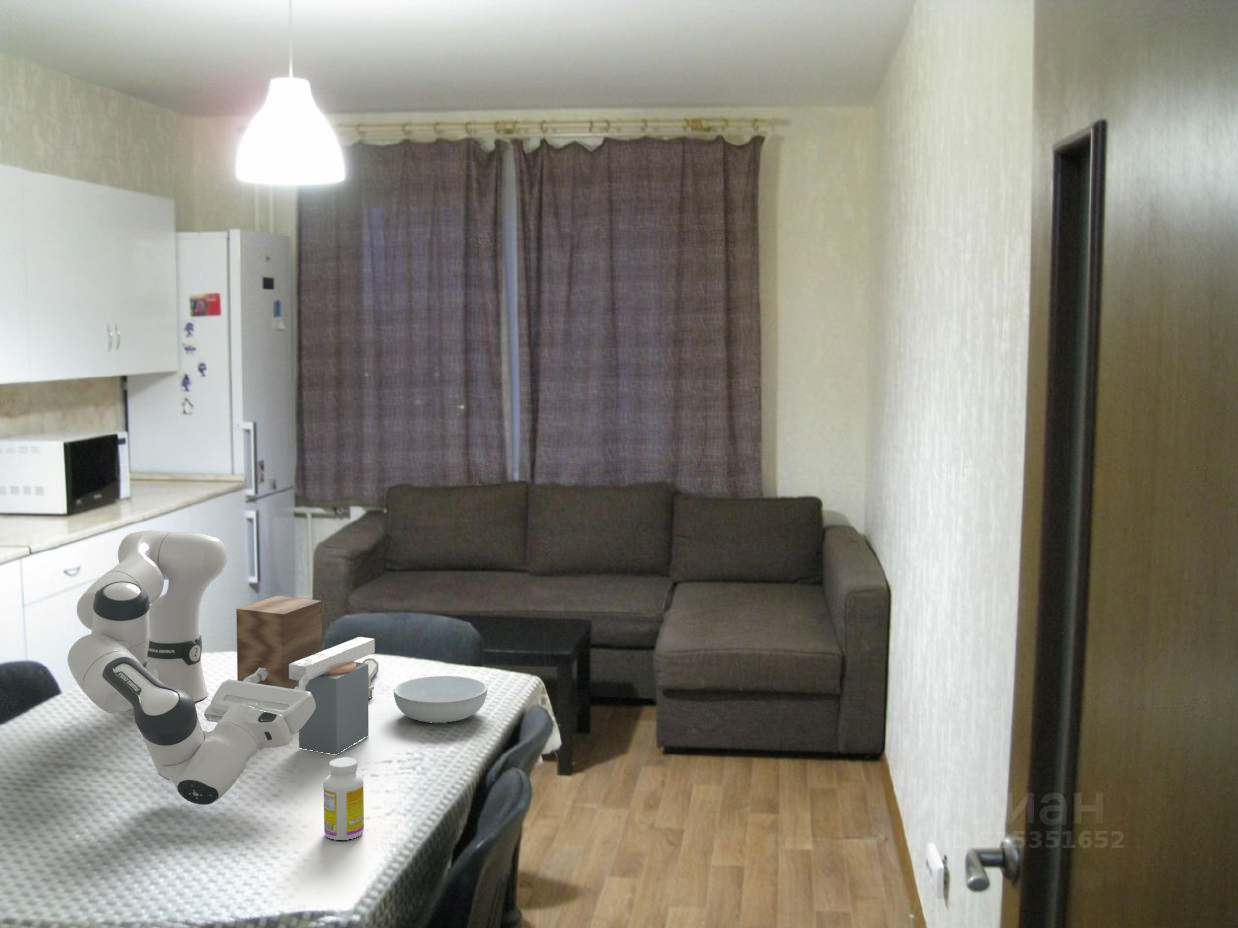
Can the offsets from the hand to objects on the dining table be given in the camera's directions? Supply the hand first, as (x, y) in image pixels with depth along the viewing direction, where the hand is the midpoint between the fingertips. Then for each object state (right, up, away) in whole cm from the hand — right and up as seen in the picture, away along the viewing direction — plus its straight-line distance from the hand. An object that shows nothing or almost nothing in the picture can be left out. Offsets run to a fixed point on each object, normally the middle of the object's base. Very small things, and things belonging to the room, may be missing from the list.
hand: (284, 673), depth 232 cm
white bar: (+6, -1, +16) cm, 17 cm away
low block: (+5, -18, +18) cm, 26 cm away
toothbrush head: (+3, -14, +59) cm, 61 cm away
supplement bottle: (+18, -23, -26) cm, 39 cm away
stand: (-10, -16, +32) cm, 37 cm away
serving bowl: (+25, -17, +37) cm, 47 cm away
